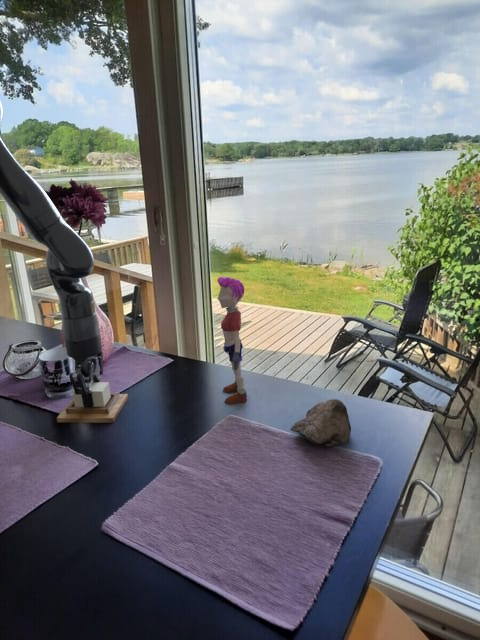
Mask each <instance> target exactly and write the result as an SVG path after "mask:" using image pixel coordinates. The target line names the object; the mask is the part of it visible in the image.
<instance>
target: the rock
mask: <svg viewBox="0 0 480 640" xmlns="http://www.w3.org/2000/svg"><path fill="white" fill-rule="evenodd" d="M290 431H292V432H295V433H298V434H299V435H301V436H303V437H305V438H306V440H308V441H309V442H311V443H314V444H317V445H320V444H322V445H323V446H325V447H327V448H331V447H333V446H338V445H347V444H348V443H349V441H350V437H351V433H352V426H351V422H350V418H349V413H348V409H347V406H346V405H345V403H344V402H342V401H341V400H340V399H338V398H337V399H334V398H333V399H328V400H326V401H325V402H318V403H316V404H315V405H313V406H312V407H311V408H310V409H308V410H307V412H306V414H305V418H302V419H300V420H298V421H296V422H295V423H294V425H292V426H291V427H290Z"/></svg>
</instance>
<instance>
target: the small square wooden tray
mask: <svg viewBox="0 0 480 640" xmlns="http://www.w3.org/2000/svg"><path fill="white" fill-rule="evenodd" d="M110 394H111V398H110V399H109V401H108V402H107V404H106V405H105V407H75V404H74V398H73V397H72V398H71V400H70V401H69V402H68V403H67V404H66V406H65V407H64V408H63V409H62V411H60V413H59V414H58V416H57V417H56V422H57V423H90V424H91V423H92V424H93V423H97V424H99V423H100V424H101V423H102V424H103V423H104V424H105V423H107V424H108V423H109V424H110V423H111V424H114V422H115V421H116V419H117V417H118V416H119V414H120V412H121V411H122V409H123V408H124V406H125V404H126V402H127V401H128V399H129V395H128V393H119V392H110Z"/></svg>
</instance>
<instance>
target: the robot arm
mask: <svg viewBox="0 0 480 640" xmlns="http://www.w3.org/2000/svg"><path fill="white" fill-rule="evenodd" d="M3 110H4V109H3V104H2V101H1V100H0V127H1V126H2V122H3V116H4V115H3V114H4V111H3ZM0 196H1V197H2V199H3V200H4V201H5V203H6V204H7V206H8V207H9V208H10V209H11V212H13V214H14V215H15V216H16V218H17V220H18V221H19V222H20V223H21V224H22V226H23V228H24V229H25V230H26V231H27V233H28V235H30V237H31V238H32V239H33V240H34V241H35V242H37V243H38V244H40V245H42V246H44V247H45V248H47V251H46V254H45V267H46V271H47V274H48V277H49V280H50V281H51V284H52V286H53V289H54V291H55V292H56V295H57V298H58V302H59V308H60V309H59V310H60V315H61V328H62V333H63V337H64V344H65V350H66V356H67V357H69V358H71V359H72V360H73V361H74V364H75V372H74V373H70V375H69V378H70V381H71V383H72V385H71V387H72V389H73V390H74V391H75V394H76V395H79V394H81V395H82V401H83V406H84V407H92V406H93V405H94V403H93V397H92V392H91V383H92V382H101V380H102V377H101V376H103V375H104V359H103V352H104V351H103V346H102V339H101V332H100V326H99V325H100V324H99V320H98V317H97V313H96V306H95V301H94V295H93V291H92V289H90V287H88V286H87V285H85V283H84V282H83V280H82V279H84V278H86V277H88V276H90V275H91V274H92V272H93V271H94V268H95V258H94V255H93V251H91V249H90V247H89V245H88V244H87V243H86V241H84V239H82V237H81V236H80V235H79V233H77V232H76V231H75V230H74V229H73V228H72V227H71V226H70V225H69V224H68V223H67V222H66V221H65V219H64V217H62V214H61V213H60V211H59V209H58V208H57V206H56V205H55V204H54V202H53V201H52V200H51V198H50V197H49V195H48V194H47V192H46V191H45V190H44V189H43V188H42V186H41V185H40V184H39V183H38V182H37V181H36V179H35V178H34V177H33V176H32V175H31V174H30V173H29V172H28V171H27V170H26V169H25V167H23V166H22V164H21V163H20V162H19V161H18V160H17V158H15V156H14V155H13V154H12V152H11V151H10V150H9V148H8V147H7V146H6V144H5V143H4V141H3V139H2V138H1V137H0ZM71 383H70V384H71ZM86 383H87V386H86Z"/></svg>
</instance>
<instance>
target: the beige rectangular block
mask: <svg viewBox="0 0 480 640" xmlns="http://www.w3.org/2000/svg"><path fill="white" fill-rule="evenodd" d="M86 386H87V383H86ZM91 392H92V397H93V403H94V405H93V406H92V407H105V405H106V404H107V402H108V401H109V399H110V398H111V394H110V393H111V388H110V382H108V381H100V382H92V383H91ZM73 398H74V404H75V407H84V406H83V401H82V395H81V394H79V395H76V394H75V391H74V389H73V390H72V399H73Z"/></svg>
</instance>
